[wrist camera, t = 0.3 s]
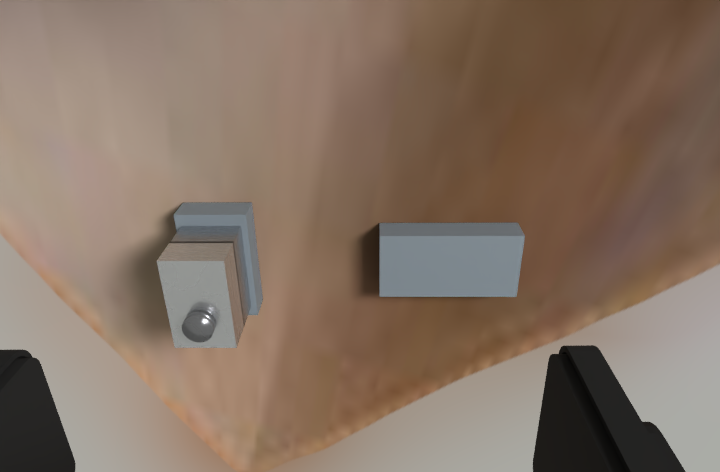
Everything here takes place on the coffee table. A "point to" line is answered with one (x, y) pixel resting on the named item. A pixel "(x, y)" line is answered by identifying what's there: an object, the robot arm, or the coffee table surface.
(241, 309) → the block
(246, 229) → the stand
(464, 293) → the stand
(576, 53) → the coffee table surface
